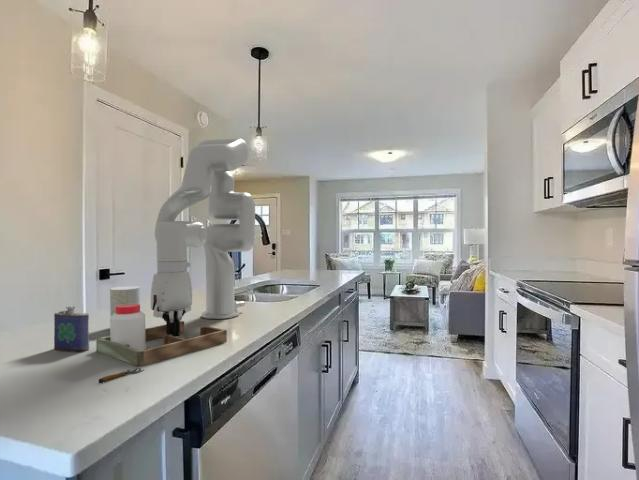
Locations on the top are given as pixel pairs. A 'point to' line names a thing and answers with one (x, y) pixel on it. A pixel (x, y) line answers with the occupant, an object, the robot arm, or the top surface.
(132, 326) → the pill bottle
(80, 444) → the top surface
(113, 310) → the cup
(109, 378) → the can opener
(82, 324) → the flask
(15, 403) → the top surface
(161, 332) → the wooden frame
